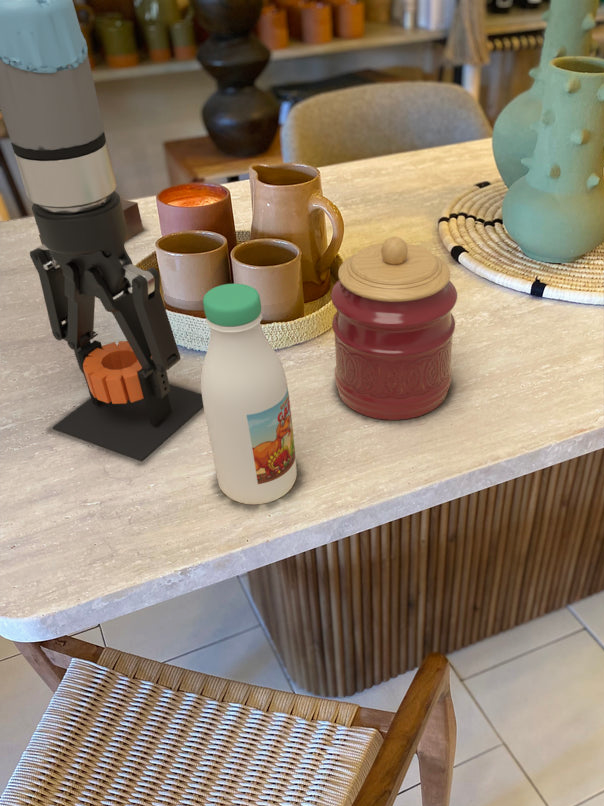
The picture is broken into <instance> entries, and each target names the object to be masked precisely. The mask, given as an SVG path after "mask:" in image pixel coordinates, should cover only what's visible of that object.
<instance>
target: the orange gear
mask: <svg viewBox="0 0 604 806" xmlns="http://www.w3.org/2000/svg"><path fill="white" fill-rule="evenodd" d="M101 347H102V349H100V348H97V349H95V350H94V351H92V352H91V353H90V354H88V356H89V357H86V358H85V360H84V363H83V369H84V373H85V376H86V379H87V382H88V386H89V389H90V391H91V393H92V395H93V396H94V398H97V400H100V401H103V402H106V403H110V402H111V401H112V404H124V403H127V401H128V399H129V400H130V402H131V403H132V402H135V401H138V400H141V399H144V397H143V393H142V389H141V385H140V382H139V378H138V374H137V372H138V371H139V370H140V369H142V366H141V365H140V363H139V361H138V359H137V357H136V356H135V354H134V352H133V350H132V348H131V346H130V345H129V343H128V341H127V340H119V341H118V343H116V342H115V341H114V342H110V343H107V344H104V345H102V346H101ZM151 357H152V356H151ZM88 386H87V387H88Z"/></svg>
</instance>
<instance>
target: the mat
mask: <svg viewBox="0 0 604 806" xmlns="http://www.w3.org/2000/svg"><path fill="white" fill-rule="evenodd" d="M169 384H170V383H169ZM168 397H169V401H170V405H171V410H172V413H171V414H169V415H168V416H167V417H166V418H165V419H164V420H162V421H161V422H160V423H159V424H158V425H157V426H155V425H152V424H150V421H149V417H148V413H147V409H146V405H145V401H144V399H141V400H138V401H135V402H132V403H131V402H130V400H129V399H128V401H127V403H124V404H112V401H111V402H110V403H106V402H103V403H101V404H100V405H99V406H97V405H94V404H93V402H92V399H91V397H90V398H89V399H87V400H86V401H85V402H83V404H81V405H80V406H78V407H77V408H76V409H74V410H73V411H72V412H70V413H69V414H68V415H67V416H65V417H64V418H63V419H61V420H59V421H58V422H57V423H56V424H54V425H53V426H52V430H54V431H57V432H60V433H63V434H66V435H68V436H71V437H73V438H76V439H79V440H82V441H84V442H87V443H89V444H93V445H95V446H98V447H100V448H103V449H106V450H109V451H111V452H114V453H116V454H120V455H123V456H125V457H127V458H131V459H133V460H136V461H139V462H144V461H145V460H146V459H147V458H148V457H149V456H150V455H152V454H153V453H154V452H155V451H156V450H158V448H159V447H161V446H162V445H163V444H164V443H165V442H166V441H167V440H168V439H170V438H171V437H172V436H174V434H175V433H176V432H178V430H180V429H181V428H182V427H183V426H184V425H186V423H188V421H190V420H191V419H192V418H193V417H194V416H196V415H197V413H199V412H200V411H201V410H202V409H204V406H203V400H202V393H199V392H195V391H193V390H189V389H186V388H183V387H180V386H177V385H173V384H170V392H169V393H168Z"/></svg>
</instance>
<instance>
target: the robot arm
mask: <svg viewBox="0 0 604 806" xmlns="http://www.w3.org/2000/svg"><path fill="white" fill-rule="evenodd" d="M88 50H89V49H88V45H87V41H86V38H85V37H84V34H83V32H82V30H81V26H80V22H79V19H78V15H77V11H76V8H75V4H74V1H73V0H0V113H1V116H2V118H3V121H4V125H5V128H6V130H7V133H8V134H7V135H8V136H9V140H10V145H11V147H12V151H13V154H14V157H15V160H16V161H15V162H16V164H17V167H18V168H17V169H18V171H19V174H20V177H21V181H22V184H23V188H24V191H25V194H26V197H27V198H28V199H29V201H31V202H32V203H33V204H32V206H31V210H32V214H33V217H34V221H35V224H36V227H37V230H38V233H39V235H40V237H41V240H42V242H43V244H44V245H42V244H41V245H40V246H38V247H36V248H35V249H33V250H31V251H30V252H29V256H30V259H31V261H32V263H33V265H34V267H35V269H36V272H37V273H38V278H39V282H40V286H41V290H42V295H43V298H44V303H45V307H46V311H47V315H48V320H49V324H50V328H51V333H52V336H53V338H55V340H57V341H59V342H61V341H63V340H64V341H65V342H67V345H68V347H69V348H70V350H73V352H74V353H73V354H74V355H75V358H76V362H77V365H78V369H79V371H80V372H81V373H82V374H83V376H84V380H85V384H86V386H87V389H88V390H87V391H88V393H89V395H90V398H91V399H92V402H93V404H94V405H97V406H99V405H100V404H101V403H103V401H100V400H97V398H94V396H93V395H92V393H91V391H90V389H89V386H88V382H87V379H86V376H85V373H84V369H83V363H84V360H85V358H86V357H89V356H88V354H90V353H91V352H92V351H94V350H95V349H97V348H100V349H102V347H101V346H103V345H102V342H101V341H99V340H94V338H95V337H97V336H99V334H98V333H97V332H96V331H95V330H94V325H95V305H96V299H99V301H100V302H101V304H102V306H103V308H104V309H105V311H106V312H108V313H111V314H112V315H113V317H114V319H115V321H116V323H117V325H118V326H119V328H120V330H121V332H122V334H123V335H124V337H125V339H126V341H128V343H129V345H130V346H131V348H132V350H133V352H134V354H135V356H136V357H137V359H138V361H139V363H140V365H141V366H142V369H140V370H139V371H138V372H137V374H138V378H139V382H140V385H141V389H142V393H143V397H144V401H145V405H146V409H147V413H148V417H149V421H150V424H152V425H155V426H157V425H158V424H159V423H160V422H161V421H162V420H164V419H165V418H166V417H167V416H168V415H169V414H171V413H172V410H171V405H170V401H169V397H168V393H169V392H170V381H169V376H168V372H167V371H169V370H170V369H171V368H172V367H174V366H175V365H176V364H177V363H179V362H180V361H181V354H180V351H179V348H178V345H177V342H176V341H177V340H176V337H175V335H174V332H173V329H172V326H171V322H170V319H169V316H168V312H167V309H166V307H165V304H164V303H165V302H164V301H163V297H162V293H161V279H160V278H161V277H160V273H159V271H158V270H157V269H156V268H155V267H149V268H148V269H146V270H144V269H142V268H140V267H138V266H137V265H134V264H133V261H132V259H131V257H130V256H129V254H128V251H127V249H126V247H125V243H126V242H125V238H126V234H127V225H126V221H125V217H124V212H123V208H122V204H121V199H122V198H121V196H120V193H118V192H116V191H115V190H116V189H117V180H116V176H115V171H114V167H113V163H112V159H111V155H110V150H109V146H108V141H107V138H106V132H105V127H104V123H103V118H102V114H101V113H102V112H101V109H100V104H99V99H98V96H97V95H98V94H97V91H96V86H95V81H94V77H93V76H94V75H93V71H92V68H91V63H90V62H91V61H90V58H89V53H88ZM40 237H39V238H40ZM41 240H40V241H41ZM121 293H122V294H121ZM119 294H121V295H119ZM63 322H64V323H63ZM91 340H93V341H91ZM151 356H152V357H151Z"/></svg>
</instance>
